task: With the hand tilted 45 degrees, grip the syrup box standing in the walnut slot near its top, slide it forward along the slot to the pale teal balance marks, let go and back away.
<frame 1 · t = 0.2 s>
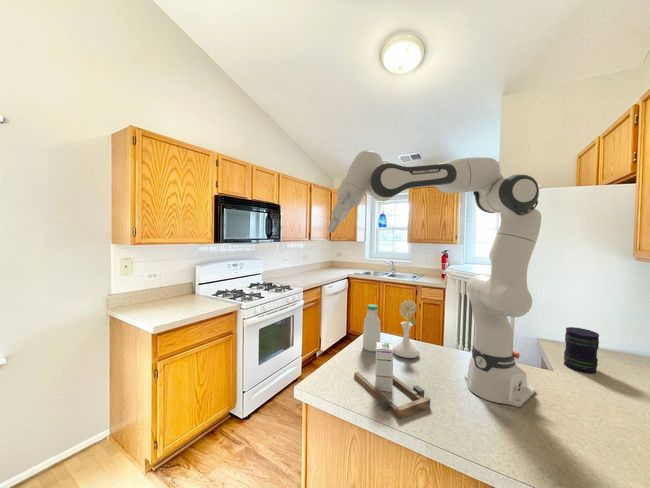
hand: (330, 231, 93), 53 cm above the countertop, tool tilted 25°, fingers open, 8 cm apart
syrup box: (383, 387, 94), resting in beam slot
storage jar: (579, 368, 109), on the countertop
beam slot: (387, 389, 92), on the countertop
flower in vase: (406, 355, 118), on the countertop
milk bottle: (371, 348, 124), on the countertop
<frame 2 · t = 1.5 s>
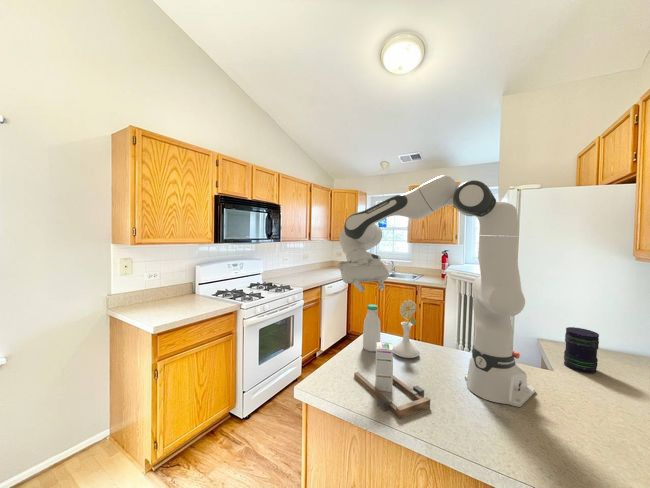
hand: (372, 289, 102), 32 cm above the countertop, tool tilted 45°, fingers open, 8 cm apart
nothing on the countertop moved.
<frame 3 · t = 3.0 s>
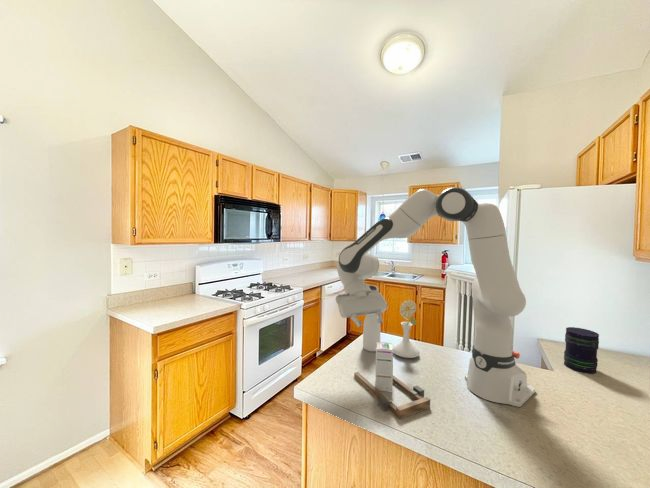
hand: (370, 324, 101), 19 cm above the countertop, tool tilted 45°, fingers open, 8 cm apart
nothing on the countertop moved.
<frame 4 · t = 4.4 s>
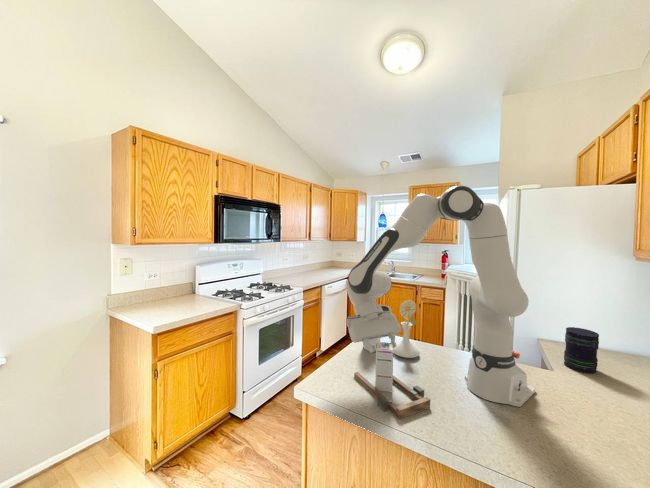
hand: (383, 349, 94), 13 cm above the countertop, tool tilted 45°, fingers closed on syrup box, 8 cm apart
syrup box: (383, 387, 94), resting in beam slot, touching gripper
everything else where it was.
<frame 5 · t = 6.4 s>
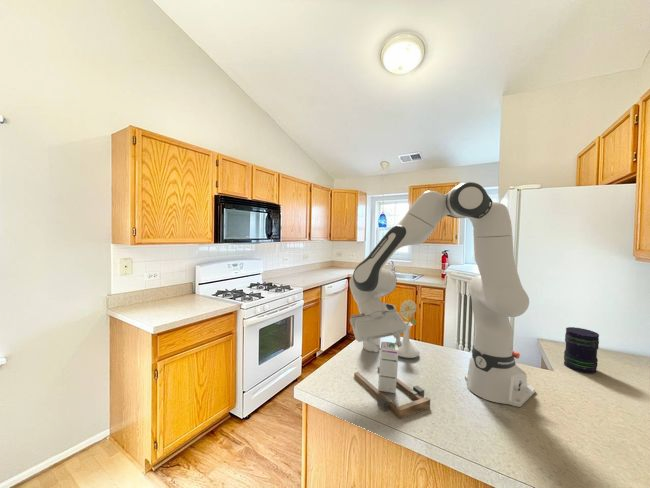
hand: (389, 348, 91), 14 cm above the countertop, tool tilted 45°, fingers closed on syrup box, 8 cm apart
syrup box: (386, 387, 92), point 1 cm above the countertop, touching gripper
everything else where it was.
when the fingers open (14 cm above the countertop, at t = 8.4 s): syrup box drops 1 cm, resting in beam slot.
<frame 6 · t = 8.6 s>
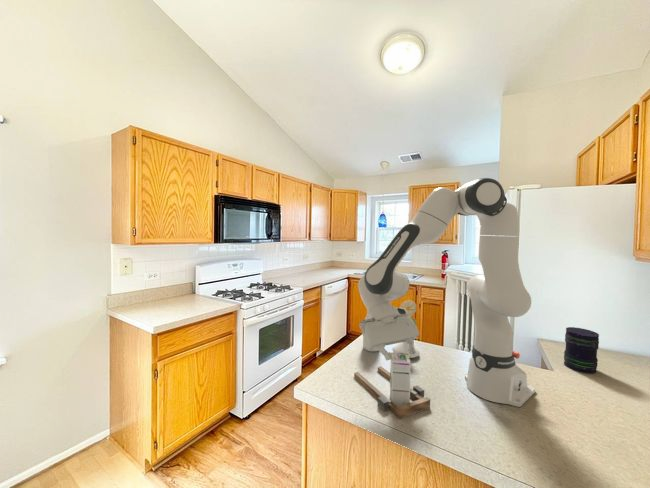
hand: (401, 356, 85), 14 cm above the countertop, tool tilted 45°, fingers open, 8 cm apart
syrup box: (399, 401, 86), resting in beam slot, touching gripper
everything else where it was.
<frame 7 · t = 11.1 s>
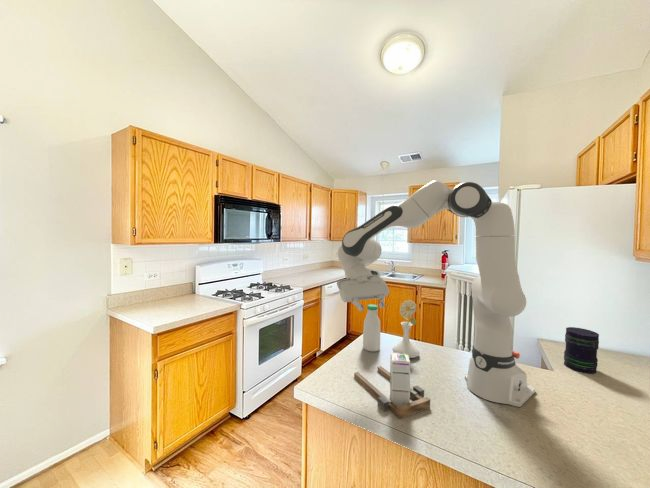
hand: (372, 308, 99), 25 cm above the countertop, tool tilted 45°, fingers open, 8 cm apart
syrup box: (399, 401, 86), resting in beam slot
everything else where it was.
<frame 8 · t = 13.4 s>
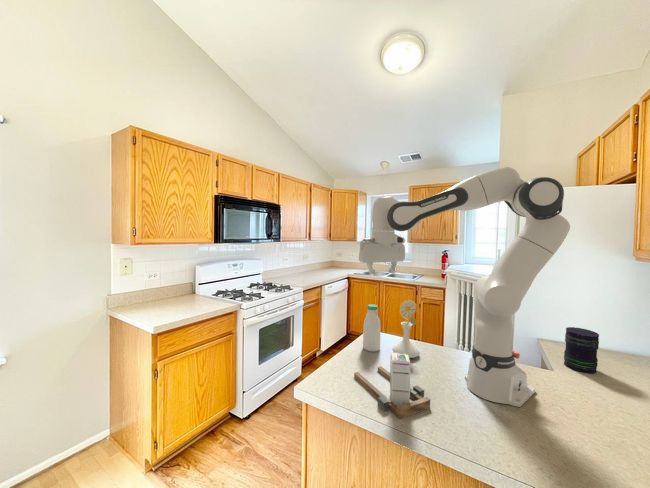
hand: (381, 273, 107), 37 cm above the countertop, tool pointing down, fingers open, 8 cm apart
nothing on the countertop moved.
at the end: syrup box inside the target area (0.7 cm from its centre), resting in beam slot; syrup box tilted 0°; the gripper is holding nothing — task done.
